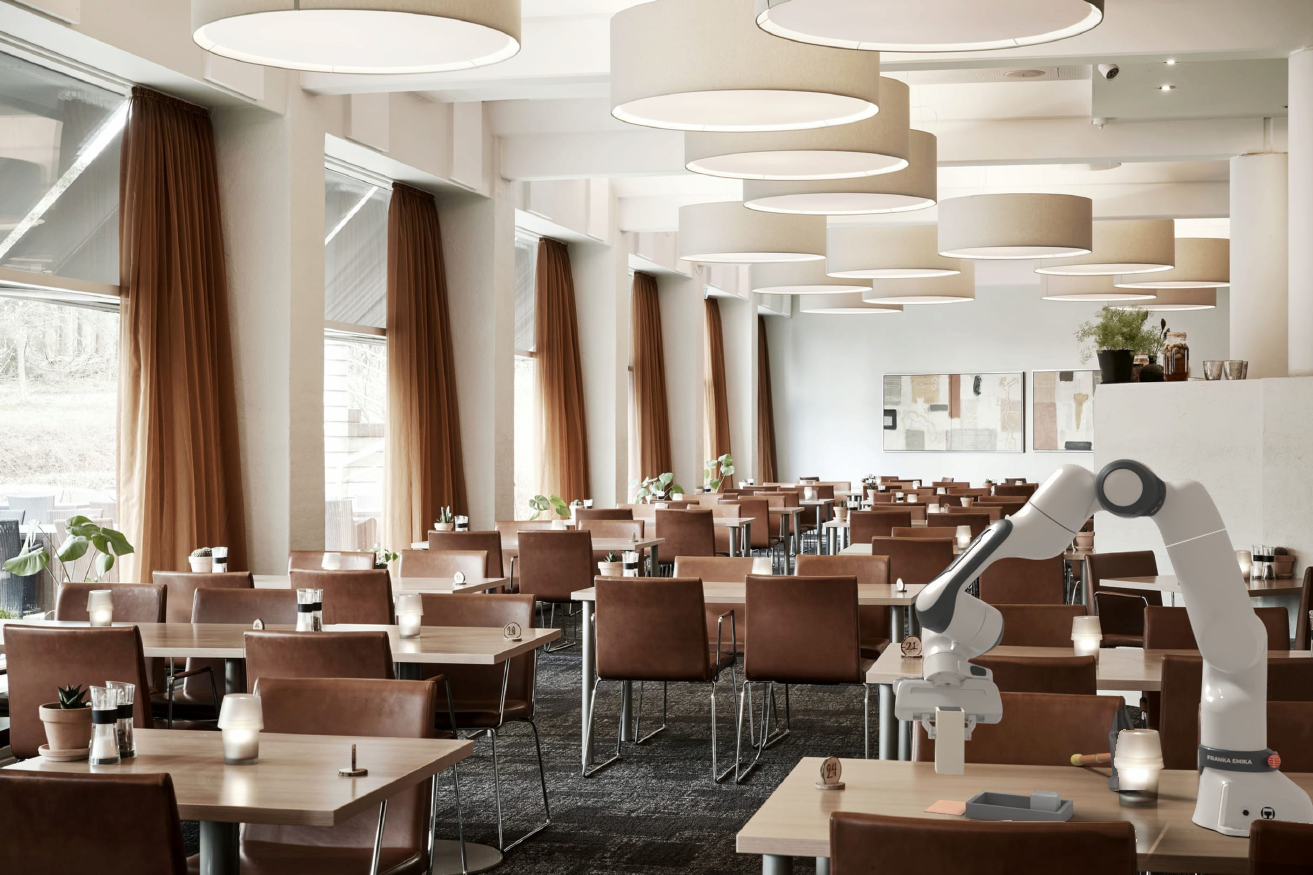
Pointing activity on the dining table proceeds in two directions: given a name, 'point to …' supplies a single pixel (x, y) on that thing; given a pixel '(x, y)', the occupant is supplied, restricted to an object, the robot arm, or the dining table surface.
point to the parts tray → (1013, 808)
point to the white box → (949, 740)
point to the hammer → (1119, 724)
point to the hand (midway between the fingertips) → (949, 737)
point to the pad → (948, 807)
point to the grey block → (1045, 801)
